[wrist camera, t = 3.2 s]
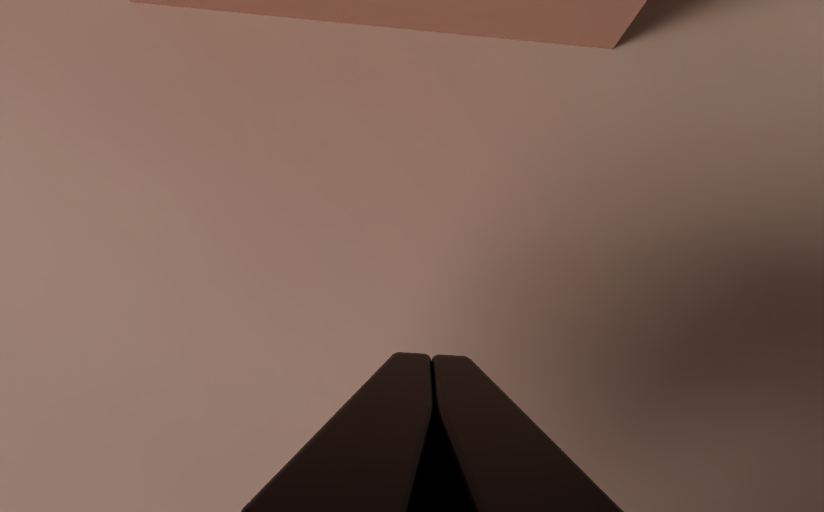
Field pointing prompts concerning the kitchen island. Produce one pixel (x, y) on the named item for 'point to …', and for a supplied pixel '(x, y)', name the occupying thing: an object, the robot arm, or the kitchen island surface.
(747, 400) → the kitchen island surface
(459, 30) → the terracotta block
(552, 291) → the kitchen island surface
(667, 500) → the kitchen island surface
